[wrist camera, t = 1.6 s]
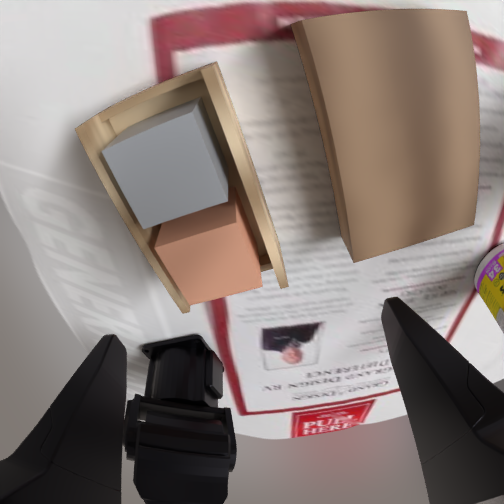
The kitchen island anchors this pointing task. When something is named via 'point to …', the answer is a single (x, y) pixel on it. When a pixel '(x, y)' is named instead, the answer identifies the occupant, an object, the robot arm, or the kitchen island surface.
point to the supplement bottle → (492, 283)
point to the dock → (396, 122)
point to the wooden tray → (232, 145)
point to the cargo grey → (169, 164)
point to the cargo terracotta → (211, 251)
